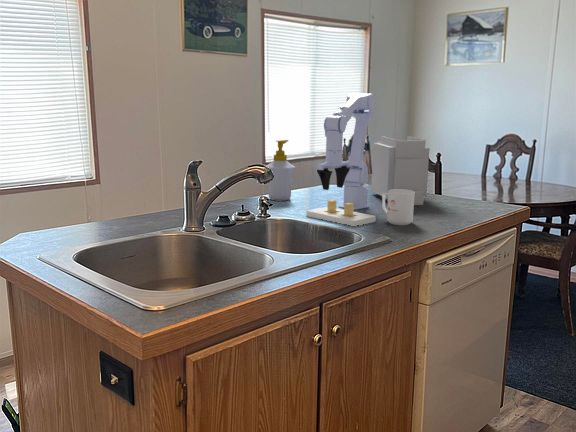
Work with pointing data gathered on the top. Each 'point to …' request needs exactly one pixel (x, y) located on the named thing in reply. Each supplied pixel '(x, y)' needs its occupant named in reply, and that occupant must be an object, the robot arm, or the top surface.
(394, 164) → the light grey angular block
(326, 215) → the housing
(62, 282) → the top surface
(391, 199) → the mug
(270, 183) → the soap bottle
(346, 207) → the peg
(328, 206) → the peg
